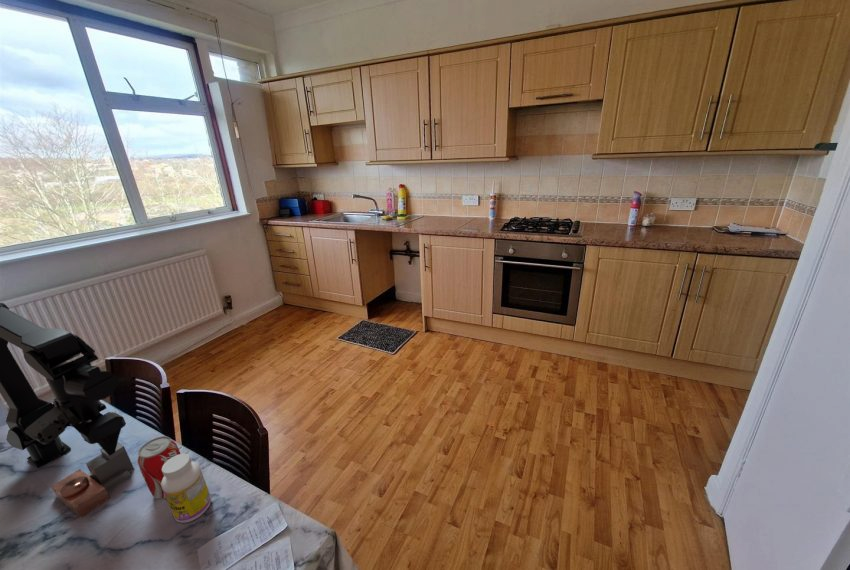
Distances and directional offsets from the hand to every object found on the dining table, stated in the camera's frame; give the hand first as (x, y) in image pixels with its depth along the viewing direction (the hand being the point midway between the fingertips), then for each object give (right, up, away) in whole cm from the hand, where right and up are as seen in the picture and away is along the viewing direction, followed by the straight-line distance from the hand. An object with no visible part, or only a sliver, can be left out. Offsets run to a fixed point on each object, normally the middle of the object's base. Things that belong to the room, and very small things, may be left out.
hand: (102, 447), depth 79 cm
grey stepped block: (0, -8, +3) cm, 9 cm away
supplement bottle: (+25, -10, -6) cm, 27 cm away
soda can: (+16, -9, 0) cm, 19 cm away
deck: (-1, -9, 0) cm, 10 cm away
